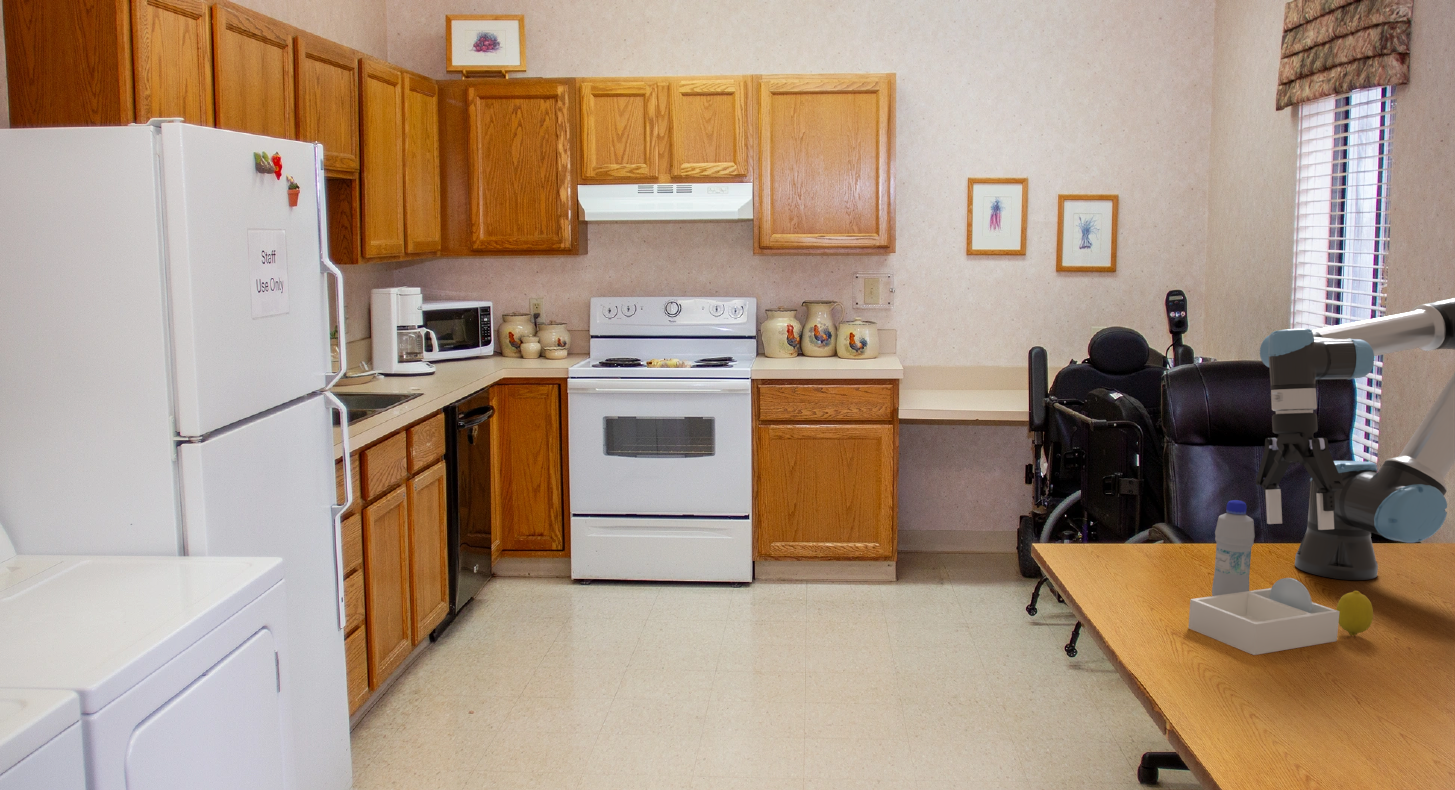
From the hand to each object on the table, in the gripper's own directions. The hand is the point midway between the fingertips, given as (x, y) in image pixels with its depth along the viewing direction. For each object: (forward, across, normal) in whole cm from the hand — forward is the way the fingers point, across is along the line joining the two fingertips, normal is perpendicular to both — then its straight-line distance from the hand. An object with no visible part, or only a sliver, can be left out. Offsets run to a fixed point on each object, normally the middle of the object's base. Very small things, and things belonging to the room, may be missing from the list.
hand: (1299, 526), depth 208 cm
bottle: (+14, -4, -13) cm, 20 cm away
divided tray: (+17, +12, -18) cm, 27 cm away
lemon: (+18, +14, -2) cm, 23 cm away
